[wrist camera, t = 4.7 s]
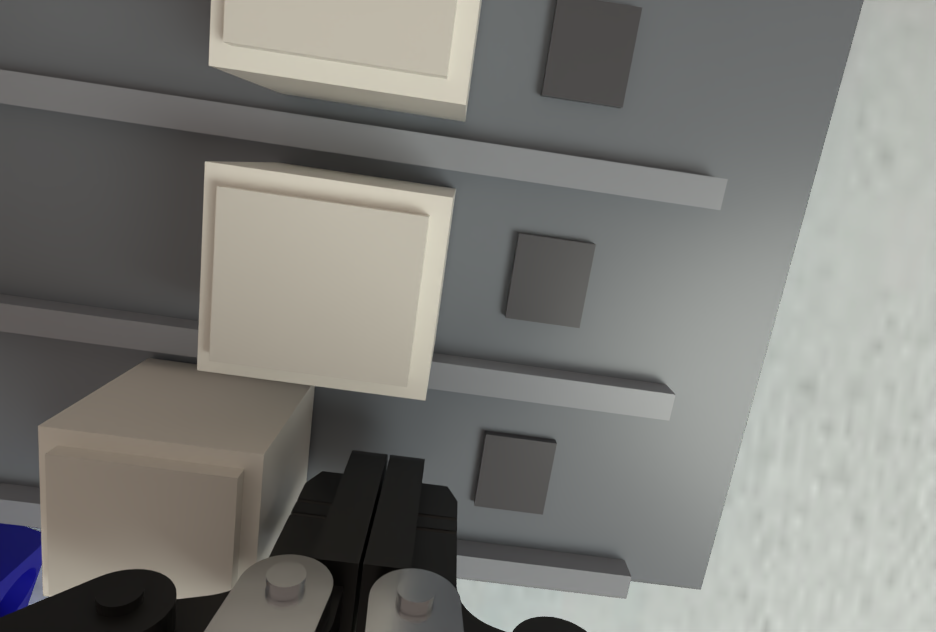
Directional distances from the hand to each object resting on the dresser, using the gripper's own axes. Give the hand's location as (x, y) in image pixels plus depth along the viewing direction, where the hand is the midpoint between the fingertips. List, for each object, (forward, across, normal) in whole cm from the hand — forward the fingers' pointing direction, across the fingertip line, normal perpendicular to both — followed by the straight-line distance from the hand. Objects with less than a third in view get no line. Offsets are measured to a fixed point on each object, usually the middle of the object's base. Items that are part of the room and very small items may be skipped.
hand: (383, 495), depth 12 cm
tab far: (+1, +4, 0) cm, 4 cm away
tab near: (+1, +1, -9) cm, 9 cm away
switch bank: (+3, +2, -5) cm, 6 cm away
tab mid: (+1, +1, -5) cm, 5 cm away
